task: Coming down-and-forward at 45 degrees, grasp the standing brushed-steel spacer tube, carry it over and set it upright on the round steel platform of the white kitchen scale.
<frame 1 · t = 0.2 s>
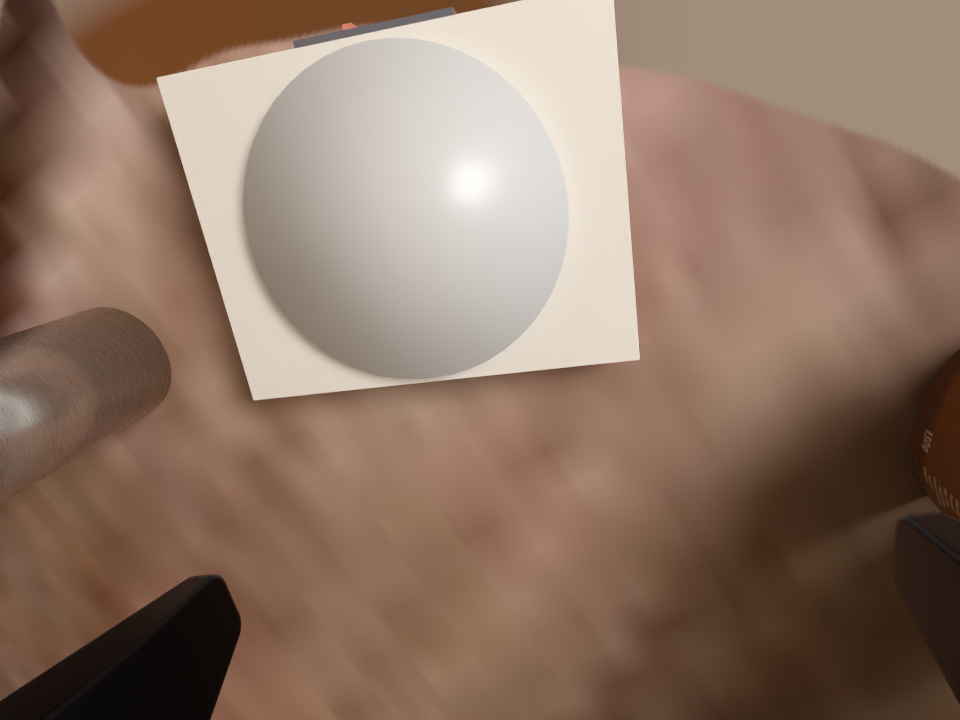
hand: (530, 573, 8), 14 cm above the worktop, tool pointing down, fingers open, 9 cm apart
spacer: (116, 363, 24), on the worktop
scale: (420, 216, 21), on the worktop
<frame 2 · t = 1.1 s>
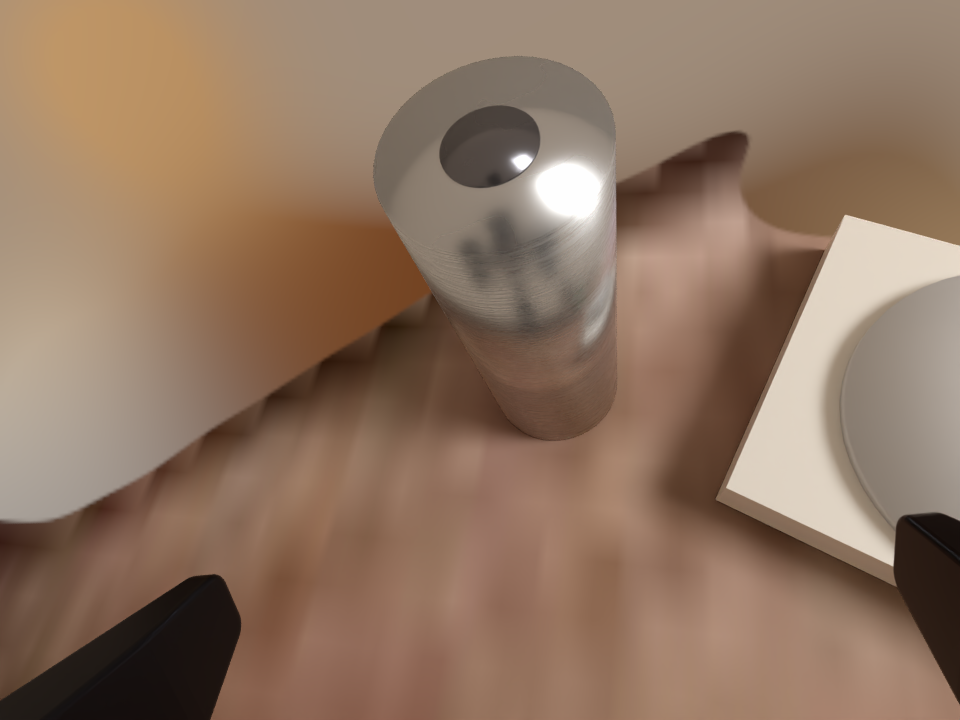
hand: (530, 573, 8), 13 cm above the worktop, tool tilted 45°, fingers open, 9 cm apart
spacer: (555, 381, 23), on the worktop
when the fingers open (10 cm above the worktop, at t = 7.0 s): spacer stays where it is, resting on scale.
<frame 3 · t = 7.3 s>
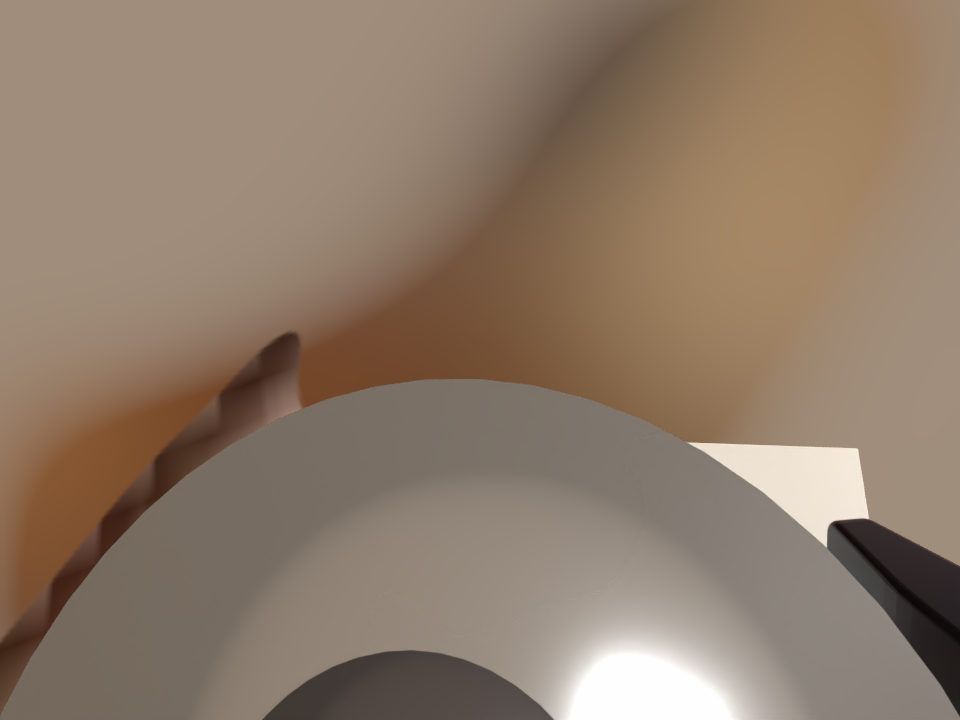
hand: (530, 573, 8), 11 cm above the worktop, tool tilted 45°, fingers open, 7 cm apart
spacer: (580, 660, 14), point 3 cm above the worktop, touching scale
scale: (585, 644, 17), on the worktop
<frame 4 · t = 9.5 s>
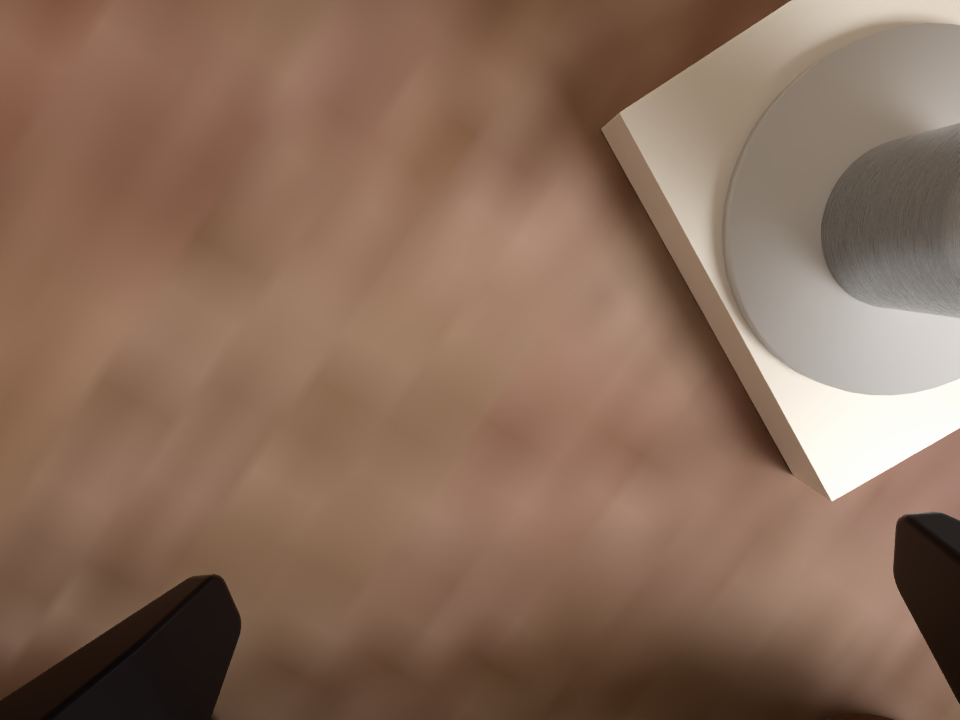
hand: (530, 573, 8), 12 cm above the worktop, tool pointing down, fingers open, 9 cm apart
spacer: (903, 224, 16), point 3 cm above the worktop, touching scale
scale: (846, 224, 19), on the worktop
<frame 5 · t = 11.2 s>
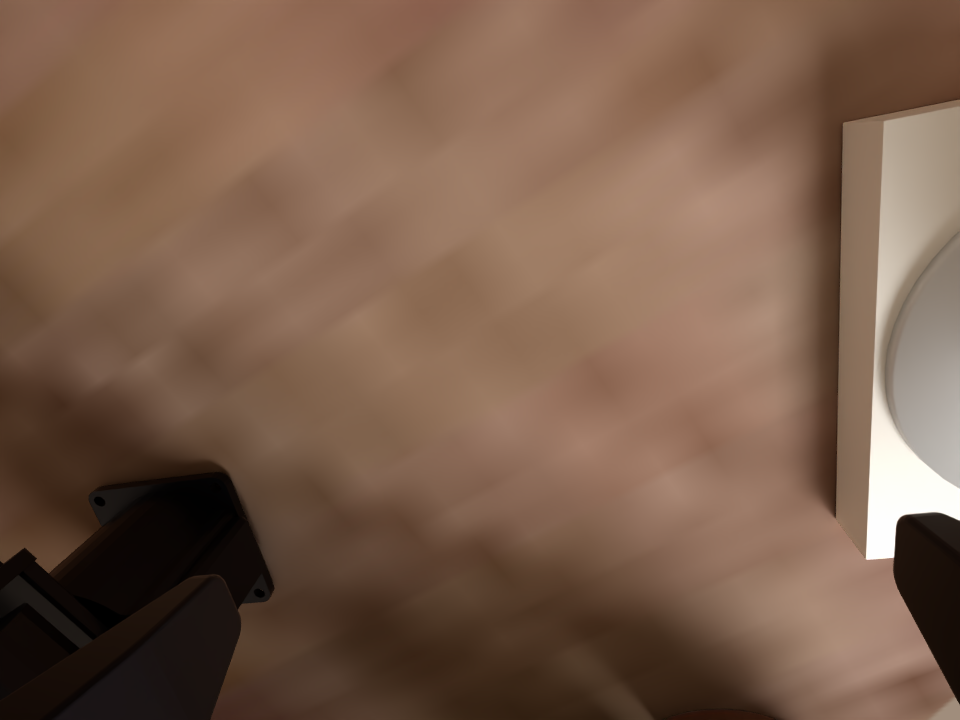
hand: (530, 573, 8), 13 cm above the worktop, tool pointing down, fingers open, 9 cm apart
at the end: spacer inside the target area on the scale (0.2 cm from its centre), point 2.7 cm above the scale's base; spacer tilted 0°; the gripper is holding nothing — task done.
